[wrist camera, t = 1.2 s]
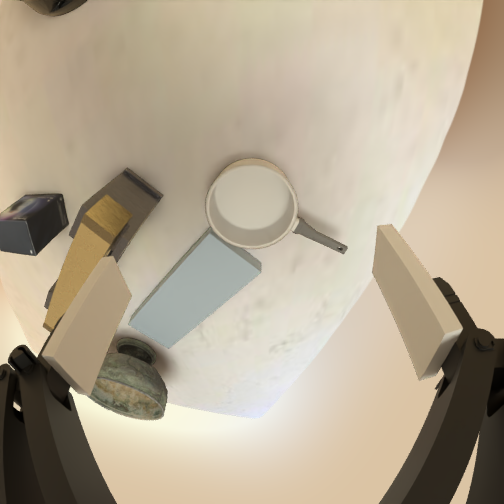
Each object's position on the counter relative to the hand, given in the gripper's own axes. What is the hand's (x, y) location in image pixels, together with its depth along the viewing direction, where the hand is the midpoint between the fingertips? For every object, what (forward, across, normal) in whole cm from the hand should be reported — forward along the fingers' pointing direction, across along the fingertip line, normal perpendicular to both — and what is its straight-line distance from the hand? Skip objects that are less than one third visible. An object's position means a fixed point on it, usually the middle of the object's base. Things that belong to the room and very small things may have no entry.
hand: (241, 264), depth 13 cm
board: (+26, -15, -24) cm, 38 cm away
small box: (+27, -38, -2) cm, 46 cm away
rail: (+16, -25, -10) cm, 32 cm away
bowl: (+26, -33, -41) cm, 59 cm away
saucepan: (+26, +3, -9) cm, 28 cm away
